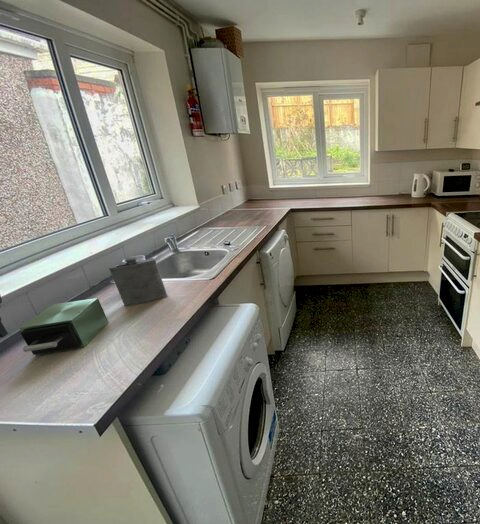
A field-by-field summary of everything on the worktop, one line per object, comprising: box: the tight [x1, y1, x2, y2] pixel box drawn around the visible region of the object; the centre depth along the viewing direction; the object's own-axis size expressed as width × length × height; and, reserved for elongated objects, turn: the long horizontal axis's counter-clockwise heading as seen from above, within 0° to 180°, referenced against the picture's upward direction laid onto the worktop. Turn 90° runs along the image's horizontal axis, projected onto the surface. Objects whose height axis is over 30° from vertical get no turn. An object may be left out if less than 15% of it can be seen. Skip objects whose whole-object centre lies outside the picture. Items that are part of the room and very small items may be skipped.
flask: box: [108, 256, 168, 307], centre depth 108 cm, size 4×14×18 cm, turn 116°
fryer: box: [19, 297, 109, 356], centre depth 89 cm, size 14×13×10 cm
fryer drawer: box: [19, 323, 81, 356], centre depth 86 cm, size 17×11×8 cm
